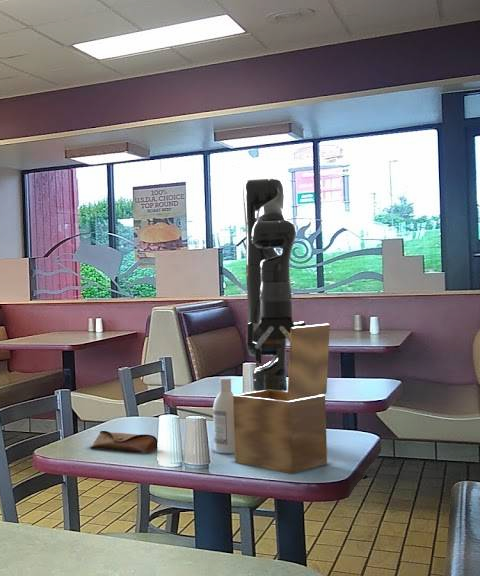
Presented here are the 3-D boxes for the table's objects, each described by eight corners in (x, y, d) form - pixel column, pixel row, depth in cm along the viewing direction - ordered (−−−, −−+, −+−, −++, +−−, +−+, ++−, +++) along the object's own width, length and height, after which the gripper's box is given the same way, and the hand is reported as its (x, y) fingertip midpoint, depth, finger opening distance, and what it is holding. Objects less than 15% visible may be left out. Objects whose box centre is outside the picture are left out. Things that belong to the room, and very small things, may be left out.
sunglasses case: (87, 447, 234) (91, 425, 237) (96, 455, 239) (101, 433, 242) (147, 452, 224) (151, 429, 227) (155, 461, 229) (159, 438, 232)
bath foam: (236, 448, 228) (234, 376, 228) (244, 453, 221) (241, 379, 221) (211, 449, 228) (209, 377, 228) (218, 454, 221) (215, 380, 221)
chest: (235, 462, 212) (233, 395, 211) (271, 453, 220) (269, 389, 220) (291, 473, 198) (288, 401, 198) (327, 464, 206) (325, 395, 206)
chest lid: (290, 327, 196) (293, 328, 196) (326, 323, 205) (329, 324, 204) (287, 399, 198) (290, 400, 197) (323, 393, 206) (326, 393, 205)
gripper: (305, 298, 209) (307, 361, 209) (246, 299, 214) (248, 361, 214) (306, 299, 202) (308, 365, 202) (245, 300, 207) (247, 364, 207)
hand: (277, 363), depth 208 cm, fingers open, 8 cm apart
